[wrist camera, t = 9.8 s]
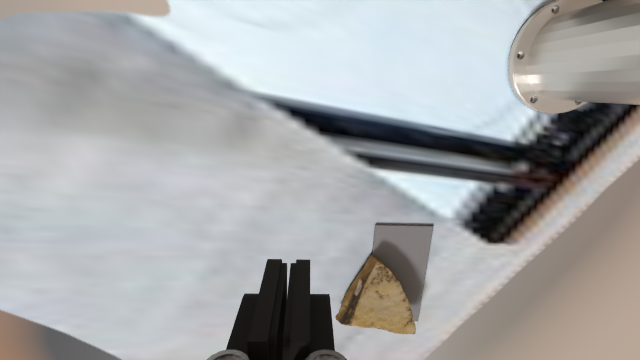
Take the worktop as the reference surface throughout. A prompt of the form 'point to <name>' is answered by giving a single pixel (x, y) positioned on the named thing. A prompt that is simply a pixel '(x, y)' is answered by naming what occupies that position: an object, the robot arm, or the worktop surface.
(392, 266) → the rubber mat
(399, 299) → the rock
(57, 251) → the worktop surface
